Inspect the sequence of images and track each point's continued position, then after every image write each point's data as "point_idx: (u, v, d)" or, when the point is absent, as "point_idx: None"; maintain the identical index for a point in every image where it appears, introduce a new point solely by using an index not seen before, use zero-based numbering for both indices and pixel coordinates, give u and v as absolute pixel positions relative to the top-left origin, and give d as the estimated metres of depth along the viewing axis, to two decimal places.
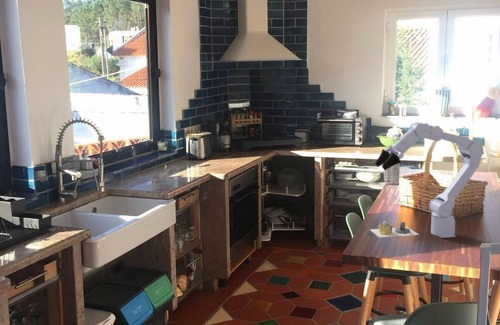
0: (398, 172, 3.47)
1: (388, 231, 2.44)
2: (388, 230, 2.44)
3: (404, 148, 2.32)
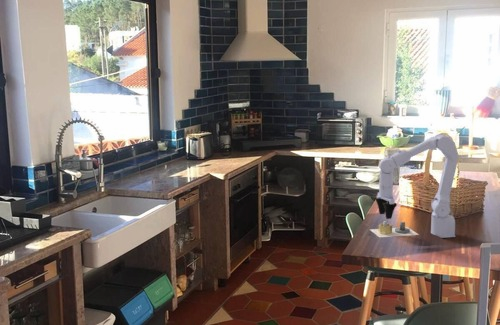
0: (398, 172, 3.47)
1: (388, 231, 2.44)
2: (388, 230, 2.44)
3: (388, 190, 2.41)
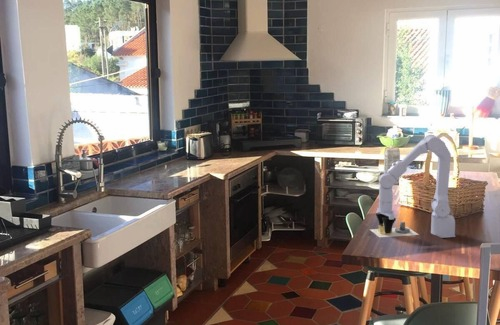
0: None
1: None
2: None
3: (388, 205, 2.42)
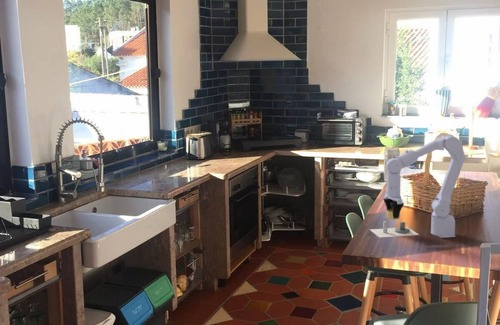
0: None
1: None
2: None
3: (396, 190, 2.41)
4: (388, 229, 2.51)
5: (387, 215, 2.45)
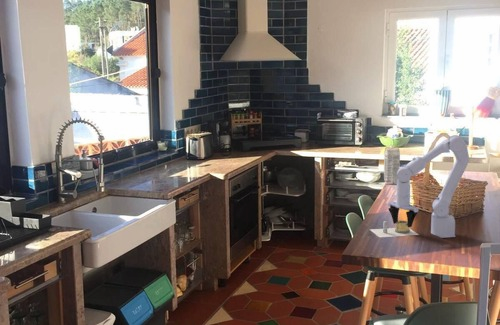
0: None
1: (408, 228, 2.46)
2: (408, 227, 2.46)
3: (408, 199, 2.43)
4: (388, 229, 2.51)
5: (398, 228, 2.46)
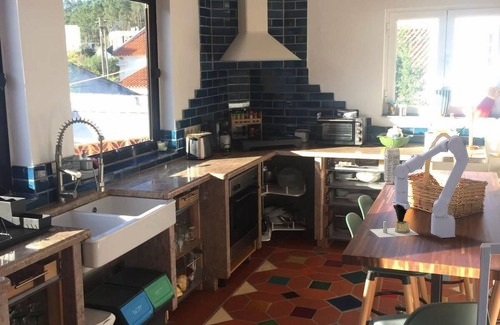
0: None
1: (408, 227, 2.46)
2: (408, 226, 2.46)
3: (404, 195, 2.45)
4: (388, 229, 2.51)
5: (398, 228, 2.46)
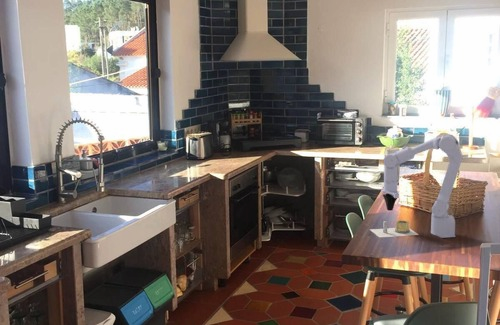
0: (398, 172, 3.47)
1: (408, 228, 2.46)
2: (408, 227, 2.46)
3: (393, 184, 2.47)
4: (388, 229, 2.51)
5: (398, 228, 2.46)
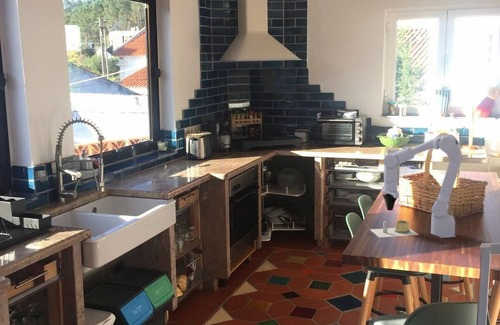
0: (398, 172, 3.47)
1: (408, 228, 2.46)
2: (408, 227, 2.46)
3: (393, 184, 2.47)
4: (388, 229, 2.51)
5: (398, 228, 2.46)
